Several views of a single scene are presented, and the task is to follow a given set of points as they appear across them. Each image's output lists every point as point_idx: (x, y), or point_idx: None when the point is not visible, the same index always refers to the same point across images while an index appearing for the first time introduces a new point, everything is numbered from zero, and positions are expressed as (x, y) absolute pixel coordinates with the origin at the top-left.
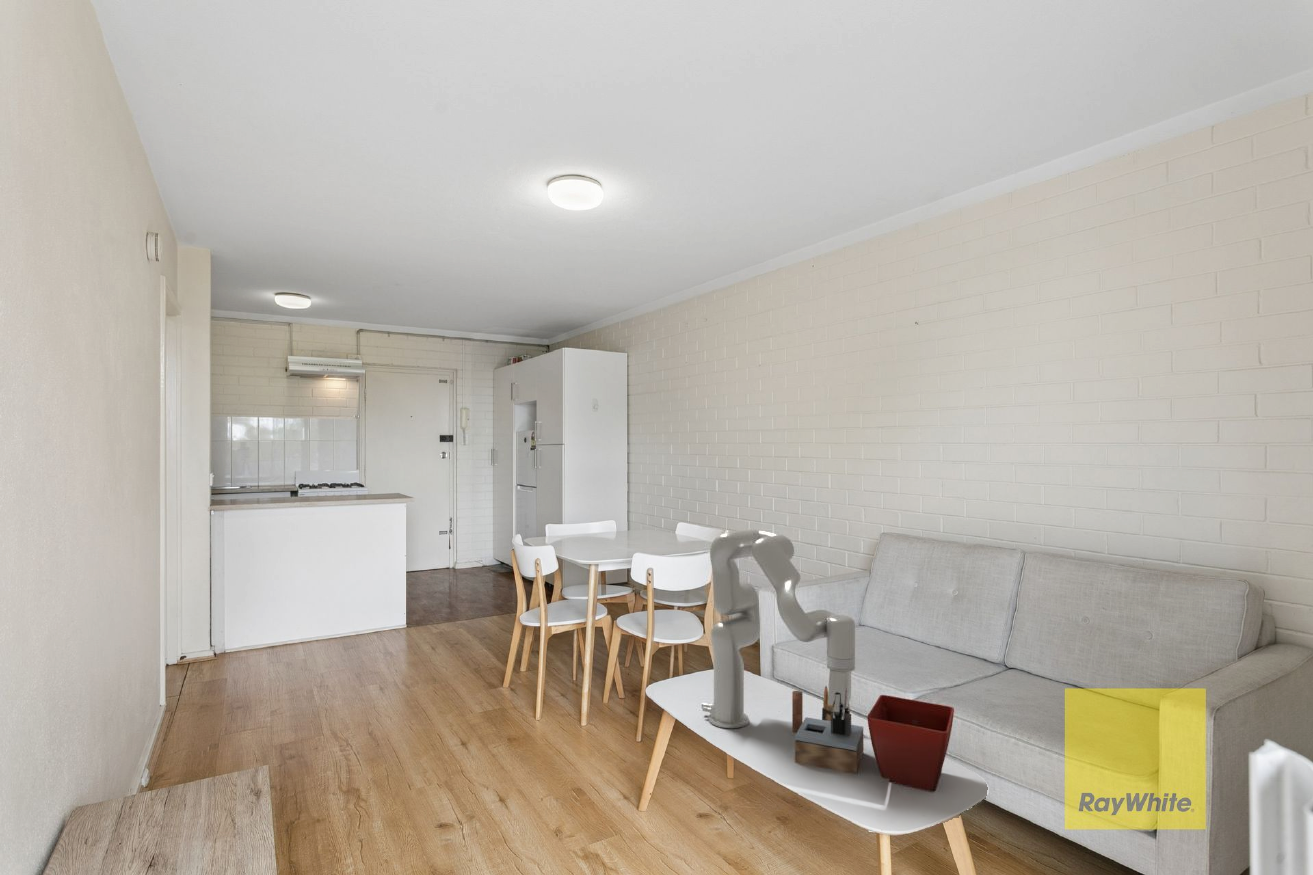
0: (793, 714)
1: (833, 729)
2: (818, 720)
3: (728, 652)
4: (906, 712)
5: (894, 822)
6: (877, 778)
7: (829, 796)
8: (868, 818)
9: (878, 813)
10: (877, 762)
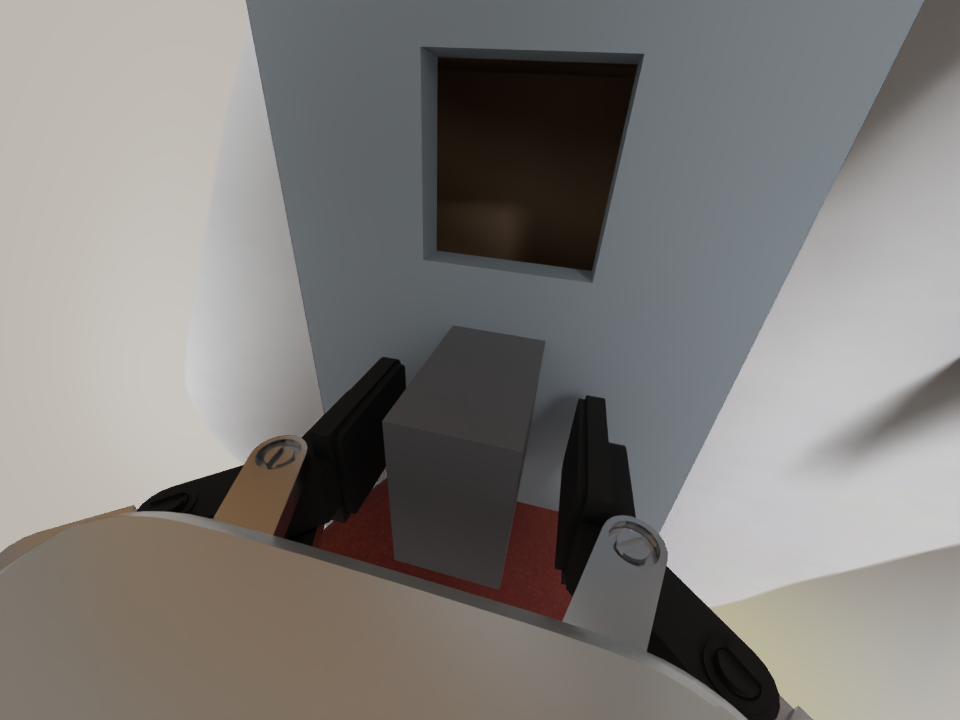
0: None
1: (372, 371)
2: (781, 188)
3: None
4: None
5: (216, 433)
6: None
7: (218, 266)
8: (187, 378)
9: (228, 405)
10: (383, 480)
